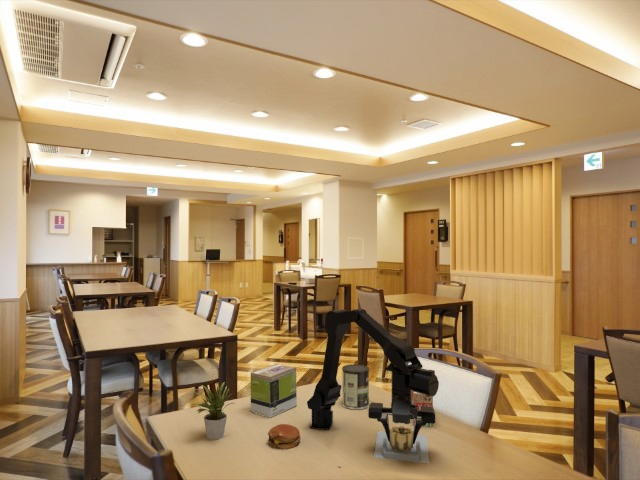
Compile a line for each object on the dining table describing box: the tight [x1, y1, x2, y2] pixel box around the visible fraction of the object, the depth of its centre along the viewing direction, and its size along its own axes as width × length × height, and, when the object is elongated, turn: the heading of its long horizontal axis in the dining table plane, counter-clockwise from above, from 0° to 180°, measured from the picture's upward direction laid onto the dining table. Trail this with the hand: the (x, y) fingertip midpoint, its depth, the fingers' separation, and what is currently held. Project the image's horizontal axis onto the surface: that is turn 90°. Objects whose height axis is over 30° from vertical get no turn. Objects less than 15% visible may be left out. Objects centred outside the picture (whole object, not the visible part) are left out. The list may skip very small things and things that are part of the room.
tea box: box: [250, 363, 298, 419], centre depth 161 cm, size 15×10×15 cm, turn 144°
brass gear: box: [390, 425, 414, 452], centre depth 126 cm, size 7×7×5 cm
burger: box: [267, 423, 301, 450], centre depth 133 cm, size 10×9×5 cm
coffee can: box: [341, 364, 370, 410], centre depth 166 cm, size 10×10×14 cm
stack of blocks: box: [412, 390, 434, 428], centre depth 154 cm, size 21×6×12 cm, turn 170°
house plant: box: [193, 381, 236, 441], centre depth 139 cm, size 14×14×16 cm
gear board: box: [373, 430, 430, 464], centre depth 129 cm, size 15×18×3 cm
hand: (401, 442), depth 126 cm, fingers closed on brass gear, 6 cm apart
